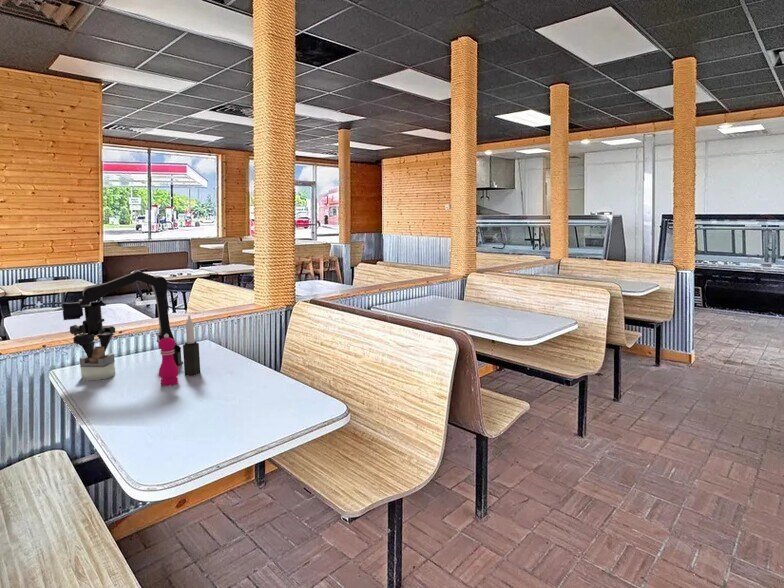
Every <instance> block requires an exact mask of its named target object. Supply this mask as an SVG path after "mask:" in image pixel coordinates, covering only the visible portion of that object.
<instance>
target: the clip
mask: <svg viewBox="0 0 784 588" xmlns="http://www.w3.org/2000/svg"><path fill="white" fill-rule="evenodd" d="M115 361H116V360H115V354H114V353H108V354H105V356H103V357H101V358H99V359H98V363H90V359H89V358H88V356H87V355H85V356H82V357H80V358H79V366H80V368H81V367H105V366H107V365H109V364H111V363H113V362H115Z"/></svg>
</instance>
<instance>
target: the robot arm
mask: <svg viewBox="0 0 784 588" xmlns="http://www.w3.org/2000/svg"><path fill="white" fill-rule="evenodd" d="M136 282H142V283H145V284H147V285H150V286H151V289H152V292H153V294H154V297H155V303H156V310H157V316H158V325H159V331H158V332H155V336H156V342H157V344H159V341H160V340H161V339H163V338H164V335H165V334H168V335H169V338H172V339H174V341H175V347H174V348H173V349H174V353H173V357H174V361H175V363H176V365H177V367H179V366H180V365H182V364H184V360H182V347H181V346H180V345H179V344H178V343H177V342H176V340H175V338H174V335H173V332H172V330H171V323H170V317H169V311H168V303H167V294H168V280H167V279H166V278H165V277H164V276H161V275H151V274H148V273H145V272H143V271H141V270H137V269H136V270H134V271H133V272H130V273H128V274H125V275H123V276H121V277H120V276H119V277H117V278H114V279H113V280H110V281H107V282H104V283H96V284H93V285H87V286H86V287H85V288H83V291H82V296H81V297H80V299H78V301H75V302H62V317H63V321H70V320H71V321H72V320H80V319H81V318H83V316H84V317H85V318H84V319H85V320H82V324H80V325H77V324H73V325H71V326H69V333H70V334H71V335H73V336H74V337H73V343H74V344H76V345H79V346H81V348H82V349H83V351H84V353H85V354H86V355H87V356H88V358H92V354H93V349H94V347H95V341H94V340H95V338H98V339H99V342H100V346H101V347H104V350H105V352H106V351H107V349H108V347H109V344H110V342H111V340H112V337H113V336H114V335H115V333H116V327H114V325H104V324H103V322H105V318H103V315H102V307H106V305H107V304H106V302H105V301H103V300H102V298H104V297H105V296H106V295H108V294H110V293H111V292H113V291H116V290H118V289H121V288H123V287H126V286H129V285H131V284H133V283H136ZM83 309H84V311H83ZM86 355H85V356H86Z"/></svg>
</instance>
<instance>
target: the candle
mask: <svg viewBox="0 0 784 588" xmlns="http://www.w3.org/2000/svg"><path fill="white" fill-rule="evenodd" d="M185 333H186V335H185V336H186V342H184V344H182V353H183V370H184V376H187V375H189V377H195V376H197V375H198V373H199V374H201V360H200V345H199V342H197V341H195V329H194V322H193V320H192V319H191V315H187V321H186V322H185ZM196 374H197V375H196ZM194 375H195V376H194Z"/></svg>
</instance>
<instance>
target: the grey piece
mask: <svg viewBox="0 0 784 588" xmlns="http://www.w3.org/2000/svg"><path fill="white" fill-rule="evenodd" d="M80 372H81V373H80V374H81V375H80V376H81V379H84V380H83V381H86V380H97V381H102V380H101V379H103V380H107V379H110V378H113V377H114V376H115V375H116V367H115V362H113V363H111V364H109V365H107V366H105V367H80ZM112 376H113V377H112ZM106 378H107V379H106Z"/></svg>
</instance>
